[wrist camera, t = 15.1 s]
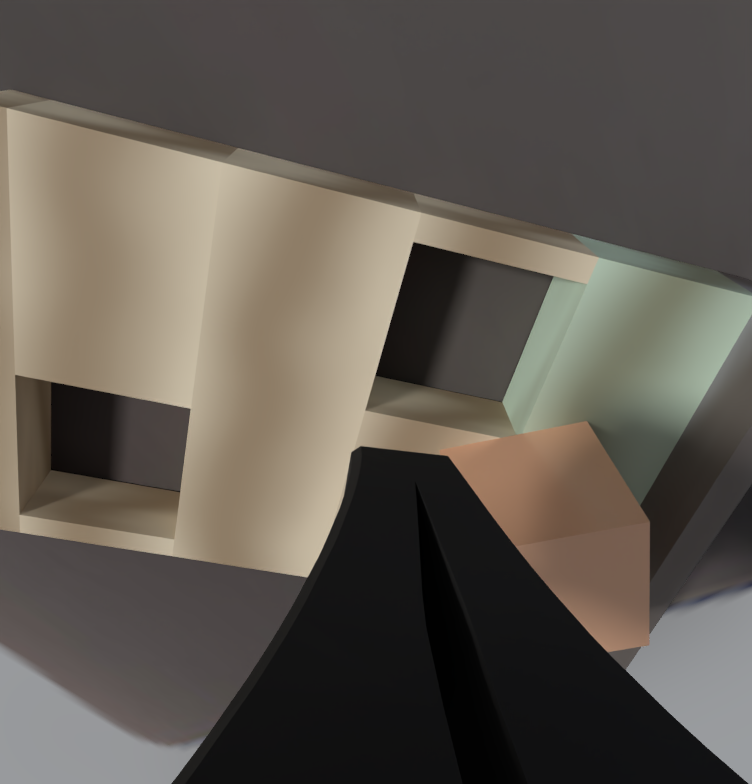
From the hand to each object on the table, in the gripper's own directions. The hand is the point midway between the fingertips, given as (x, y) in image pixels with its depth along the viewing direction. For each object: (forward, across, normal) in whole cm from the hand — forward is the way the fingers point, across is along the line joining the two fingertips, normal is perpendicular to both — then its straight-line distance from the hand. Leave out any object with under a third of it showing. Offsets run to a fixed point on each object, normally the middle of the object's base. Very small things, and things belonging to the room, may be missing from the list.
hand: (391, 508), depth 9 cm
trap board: (+10, 0, +4) cm, 11 cm away
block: (+8, -5, +5) cm, 11 cm away
